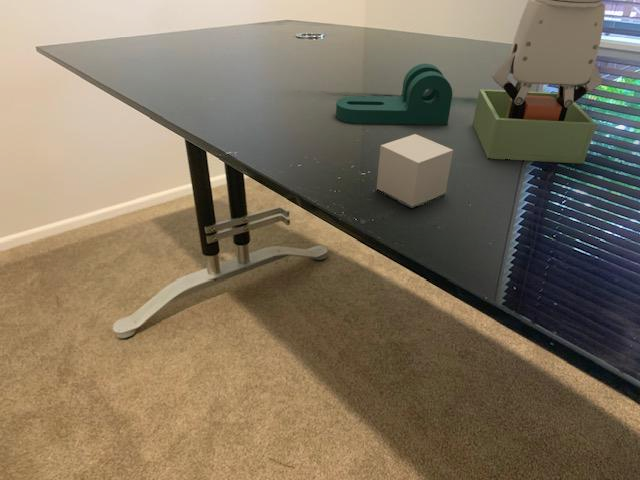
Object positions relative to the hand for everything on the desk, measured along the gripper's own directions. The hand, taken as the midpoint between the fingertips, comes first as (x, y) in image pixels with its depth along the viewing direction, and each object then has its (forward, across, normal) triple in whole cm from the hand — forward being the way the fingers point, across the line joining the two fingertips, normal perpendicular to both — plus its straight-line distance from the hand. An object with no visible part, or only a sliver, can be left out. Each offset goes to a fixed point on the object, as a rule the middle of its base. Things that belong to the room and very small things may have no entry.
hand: (532, 129), depth 72 cm
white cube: (+3, +18, +16) cm, 24 cm away
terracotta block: (0, 0, 0) cm, 0 cm away
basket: (+3, 0, -2) cm, 4 cm away
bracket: (+3, +20, -11) cm, 23 cm away
